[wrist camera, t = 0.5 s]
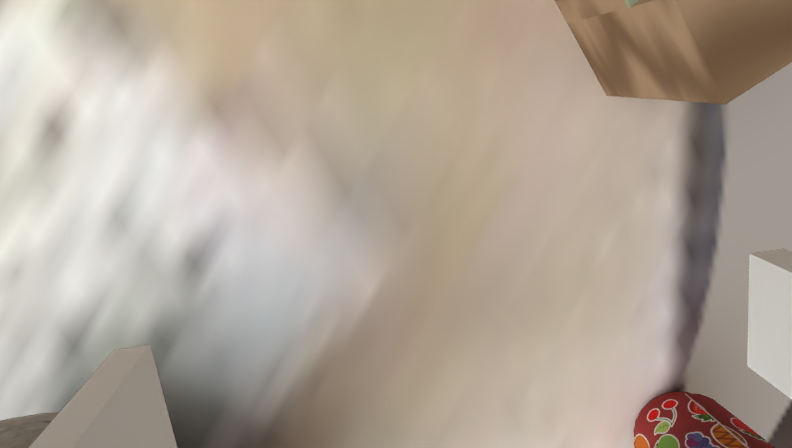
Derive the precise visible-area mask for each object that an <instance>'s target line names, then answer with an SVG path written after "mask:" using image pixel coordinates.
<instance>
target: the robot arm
mask: <svg viewBox="0 0 792 448" xmlns="http://www.w3.org/2000/svg"><path fill="white" fill-rule="evenodd" d="M748 307H749V308H748V353H747V354H748V356H747V367H749V368H750V369H752V370H753V371H754V372H756V373H757V374H758V375H760V376H761V377H762V378H764V379H765V380H766V381H768V382H769V383H770V384H772V385H773V386H774V387H776V388H777V389H778V390H780V391H781V392H782V393H784V394H785V395H786V396H788V397H789V398H790V399H792V252H791V251H788V250H786V249H778V250H770V251H764V252H757V253H751V254H750V259H749V306H748ZM29 448H177V444H176V440H175V437H174V433H173V429H172V425H171V422H170V418H169V414H168V410H167V406H166V403H165V399H164V395H163V391H162V388H161V384H160V380H159V376H158V372H157V369H156V365H155V361H154V357H153V354H152V350H151V346H150V345H144V346H138V347H131V348H125V349H118V350H114V351H113V352H112V353H111V354H110V355H109V356H108V358H107V359H106V360H105V361H104V362H103V363H102V364H101V366H100V367H99V368H98V369H97V370H96V371H95V372H94V374H93V375H92V376H91V377H90V378H89V379H88V380H87V382H86V383H85V384H84V385H83V386H82V387H81V388H80V390H79V391H78V392H77V393H76V394H75V395H74V396H73V398H72V399H71V400H70V401H69V402H68V403H67V404H66V406H65V407H64V408H63V409H62V410H61V411H60V412H59V414H58V415H57V416H56V417H55V418H54V419H53V420H52V422H51V423H50V424H49V425H48V426H47V427H46V428H45V430H44V431H43V432H42V433H41V434H40V435H39V436H38V438H37V439H36V440H35V441H34V442H33V443H32V444H31V446H30V447H29Z"/></svg>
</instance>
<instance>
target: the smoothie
mask: <svg viewBox="0 0 792 448" xmlns="http://www.w3.org/2000/svg"><path fill="white" fill-rule="evenodd" d="M634 437H635V440H634V447H635V448H775V447H774V446H772V445H771V444H770V443H768V442H767V441H766V440H765V439H763V438H762V437H761V436H759V435H758V434H757V433H755V432H754V431H753V430H752V429H750V428H749V427H748V426H747V425H745V424H744V423H742V422H741V421H740V420H739V419H738V418H736V417H735V416H734V415H732V414H731V413H730V412H729V411H727V410H726V409H725V408H723V407H722V406H721V405H720V404H718V403H717V402H715V401H714V400H713V399H711V398H709V397H706V396H703V395H700V394H691V393H688V392H676V391H674V392H670V393H666V394H662V395H660V396H659V397H657V398H655V399H653V400H652V401H650V402H649V403H648V404H647V405H646V406H645V407H644V408H643V409H642V410H641V412H640V414H639V416H638V418H637V419H636V422H635V428H634Z"/></svg>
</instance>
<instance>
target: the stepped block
mask: <svg viewBox="0 0 792 448" xmlns="http://www.w3.org/2000/svg"><path fill="white" fill-rule="evenodd" d="M555 1H556V3H557V5H558V7H559V8H560V10H561V12H562V14H563V16H564V18H565V19H566V21H567V23H568V25H569V27H570V29H571V31H572V32H573V34H574V36H575V38H576V40H577V42H578V43H579V45H580V47H581V49H582V51H583V53H584V54H585V56H586V58H587V60H588V62H589V64H590V65H591V67H592V69H593V71H594V73H595V75H596V76H597V78H598V80H599V82H600V84H601V86H602V87H603V89H604V91H605V93H606V95H607V96H621V97H634V98H648V99H662V100H676V101H690V102H703V103H717V104H727V103H728V102H730V101H732V100H733V99H735V98H736V97H738V96H739V95H741V94H742V93H744V92H745V91H747V90H749V89H750V88H752V87H753V86H755V85H756V84H758V83H759V82H761V81H763V80H764V79H766V78H767V77H769V76H771V75H772V74H774V73H775V72H777V71H778V70H780V69H781V68H783V67H785V66H786V65H788V64H789V63H791V62H792V0H555Z"/></svg>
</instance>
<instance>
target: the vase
mask: <svg viewBox="0 0 792 448" xmlns="http://www.w3.org/2000/svg"><path fill="white" fill-rule="evenodd" d="M58 414H59V412H57V413H41V414H35V415H29V416H23V417H17V418H11V419H6V420H2V421H0V448H29V447H30V446H31V444H32V443H33V442H34V441H35V440H36V439H37V438H38V436H39V435H40V434H41V433H42V432H43V431H44V430H45V428H46V427H47V426H48V425H49V424H50V423H51V422H52V420H53V419H54V418H55V417H56V416H57V415H58Z"/></svg>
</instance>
